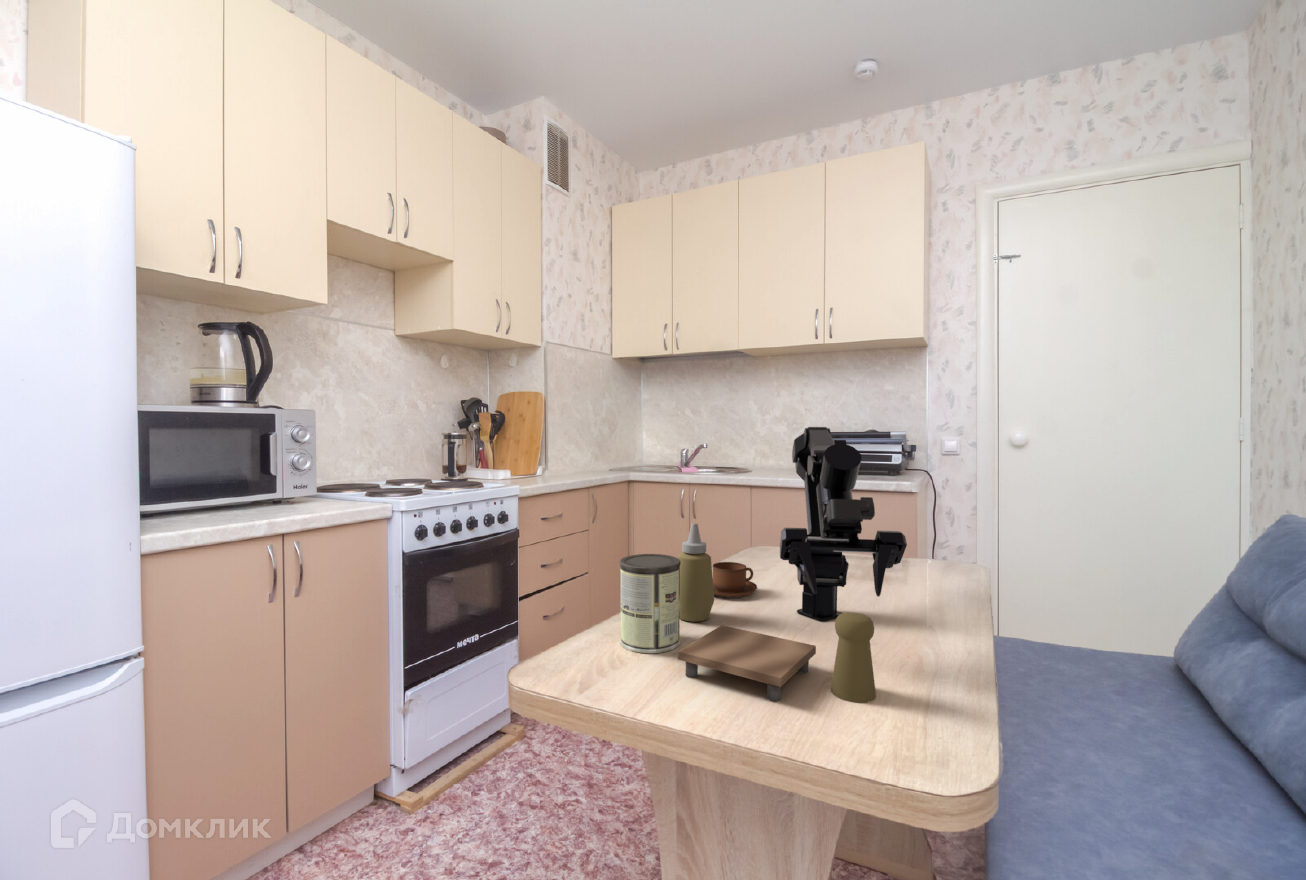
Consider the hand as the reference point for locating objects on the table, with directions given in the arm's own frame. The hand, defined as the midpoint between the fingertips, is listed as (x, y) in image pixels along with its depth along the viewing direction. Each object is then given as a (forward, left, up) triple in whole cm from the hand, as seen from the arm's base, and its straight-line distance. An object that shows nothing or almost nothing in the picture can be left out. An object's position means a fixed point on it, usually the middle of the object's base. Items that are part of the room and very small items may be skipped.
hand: (846, 593), depth 90 cm
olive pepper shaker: (+4, +5, -12) cm, 14 cm away
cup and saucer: (-13, -42, -12) cm, 45 cm away
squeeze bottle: (+4, -33, -12) cm, 35 cm away
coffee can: (+18, -27, -12) cm, 34 cm away
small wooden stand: (+12, -8, -12) cm, 19 cm away
